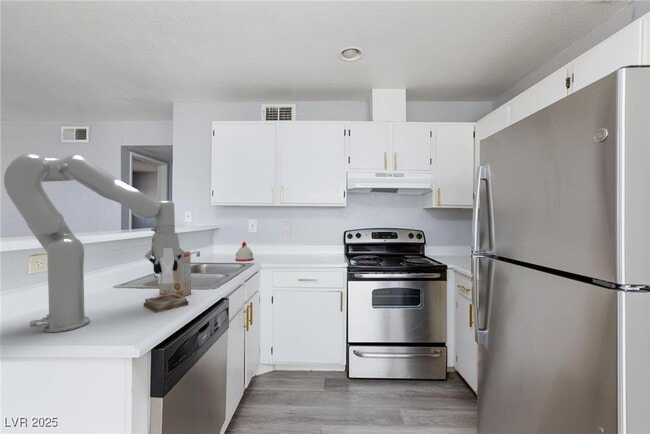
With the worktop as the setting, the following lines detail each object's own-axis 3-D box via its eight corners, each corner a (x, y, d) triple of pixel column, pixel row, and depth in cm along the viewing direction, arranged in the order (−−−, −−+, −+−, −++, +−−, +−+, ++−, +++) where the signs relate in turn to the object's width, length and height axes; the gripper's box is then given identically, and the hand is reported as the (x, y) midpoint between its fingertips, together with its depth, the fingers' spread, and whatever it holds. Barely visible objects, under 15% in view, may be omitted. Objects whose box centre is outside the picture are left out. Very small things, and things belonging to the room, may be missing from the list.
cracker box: (191, 293, 147) (191, 250, 147) (182, 297, 142) (181, 252, 141) (168, 291, 152) (168, 249, 151) (158, 294, 146) (158, 251, 145)
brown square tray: (155, 312, 120) (155, 305, 120) (143, 306, 129) (143, 299, 128) (188, 304, 130) (188, 297, 130) (174, 299, 138) (174, 292, 138)
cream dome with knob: (233, 261, 243) (232, 242, 242) (239, 258, 256) (239, 241, 256) (250, 261, 241) (249, 242, 241) (255, 258, 255) (255, 241, 255)
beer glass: (155, 285, 125) (154, 248, 125) (159, 281, 132) (158, 246, 131) (173, 283, 127) (172, 247, 126) (176, 280, 134) (175, 246, 133)
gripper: (145, 231, 120) (147, 276, 120) (189, 229, 133) (190, 269, 133) (138, 230, 124) (140, 274, 125) (181, 228, 138) (182, 267, 138)
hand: (165, 271), depth 129 cm, fingers closed on beer glass, 6 cm apart
